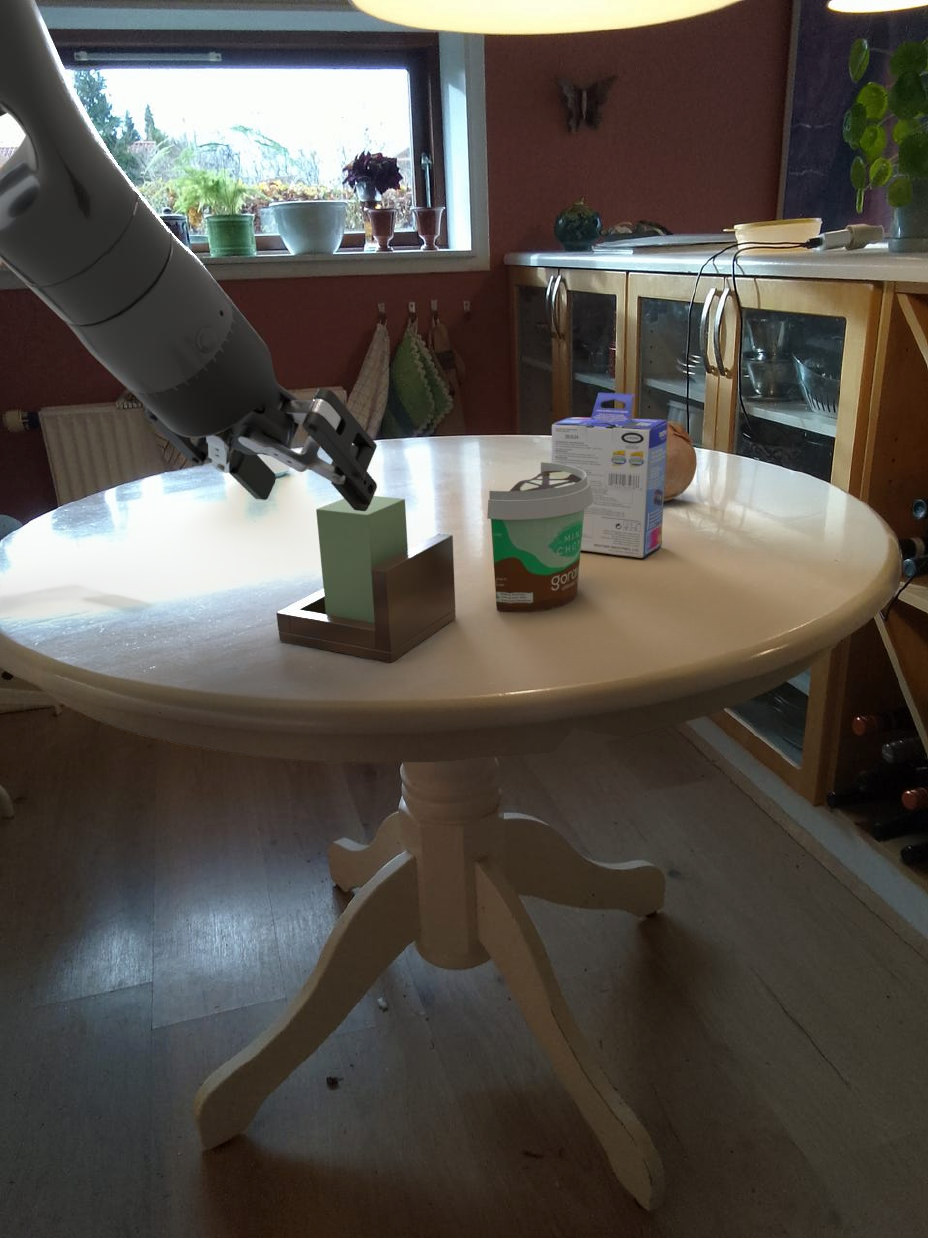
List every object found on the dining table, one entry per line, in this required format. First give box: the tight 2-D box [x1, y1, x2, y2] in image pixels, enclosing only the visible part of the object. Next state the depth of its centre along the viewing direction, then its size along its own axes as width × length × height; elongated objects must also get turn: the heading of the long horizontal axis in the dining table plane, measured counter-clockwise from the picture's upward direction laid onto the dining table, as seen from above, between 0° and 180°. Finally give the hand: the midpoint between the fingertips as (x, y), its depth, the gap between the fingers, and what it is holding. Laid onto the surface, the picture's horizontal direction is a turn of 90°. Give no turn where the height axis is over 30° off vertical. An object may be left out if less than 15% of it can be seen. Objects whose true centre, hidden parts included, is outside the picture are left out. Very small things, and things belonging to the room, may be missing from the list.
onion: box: [663, 420, 698, 503], centre depth 103 cm, size 10×9×10 cm
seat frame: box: [275, 533, 456, 663], centre depth 68 cm, size 10×10×7 cm
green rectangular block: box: [315, 495, 409, 623], centre depth 67 cm, size 4×5×9 cm
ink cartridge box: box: [551, 392, 668, 559], centre depth 84 cm, size 10×6×14 cm, turn 61°
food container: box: [486, 461, 593, 613], centre depth 73 cm, size 12×6×10 cm, turn 155°
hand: (315, 494), depth 62 cm, fingers open, 8 cm apart
